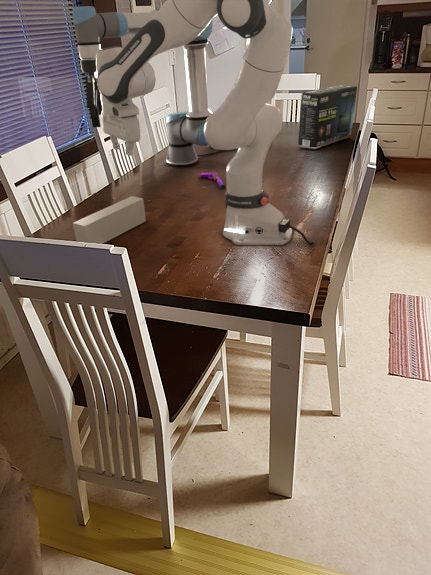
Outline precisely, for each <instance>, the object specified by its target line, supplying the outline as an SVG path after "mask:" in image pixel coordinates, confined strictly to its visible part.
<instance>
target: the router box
mask: <svg viewBox="0 0 431 575" xmlns="http://www.w3.org/2000/svg"><path fill="white" fill-rule="evenodd" d="M357 93H358V86H356V85H350V84H339V85H338V84H337V85H334V86H328V87H324V88H318V89H314V90H309V91H304V92H301V93H300V109H299V110H300V111H299V124H298V137H297V146H298V145H302V146H307V147H317V146H320V145H323V144H325V143H328V142H331V141H333V140H336V139H338V138H341V137H344V136H347V135H351V136H352V133H353V132H352V131H353V125H354V115H355V109H356V99H357ZM311 151H313V150H312V149H311Z"/></svg>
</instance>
